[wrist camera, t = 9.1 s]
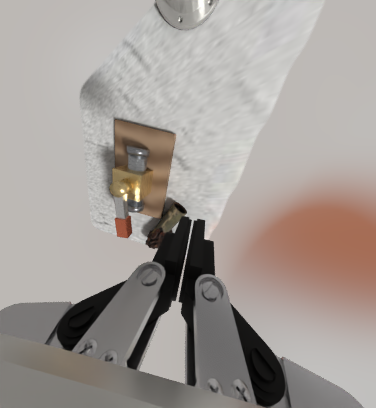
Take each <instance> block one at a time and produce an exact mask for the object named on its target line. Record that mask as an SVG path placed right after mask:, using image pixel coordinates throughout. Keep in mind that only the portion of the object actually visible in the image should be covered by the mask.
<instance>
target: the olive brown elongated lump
mask: <svg viewBox="0 0 376 408" xmlns="http://www.w3.org/2000/svg"><path fill="white" fill-rule="evenodd" d="M186 213H187V211H186V209H185V208H184V207H183V206H182V205H180V204H179V203H177V202H174V203H173V204H172V206H171V207H170V209H169V210H168V212H167V213H166V214H165V216H164V217H163V218H162V220H161V221H160V222H159V224H158V225H157V226H156V228H155V229H154V230H153V231H150V232H149V235H148V239H147V240H146V245H148V246H149V248H153V249H155V248H159V246H160V244H161V242H162V240H163V238H164V236H165V234H166V232H171V233H172V230H171V229H172V228H173V227H174V226H175V225H176V224H177V223H178V222H179V221H180V219H181V216H184V215H185V214H186Z"/></svg>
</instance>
